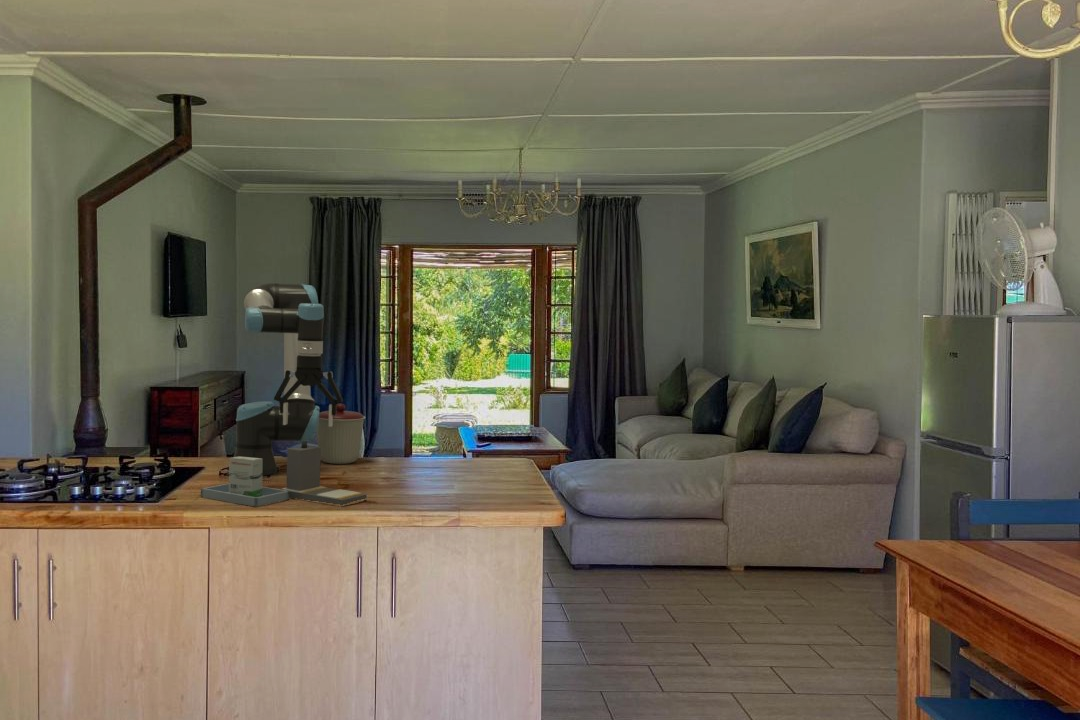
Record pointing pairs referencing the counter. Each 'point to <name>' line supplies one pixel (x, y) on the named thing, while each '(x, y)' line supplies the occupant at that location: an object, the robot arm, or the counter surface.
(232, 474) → the ink box
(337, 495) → the board with cream panels
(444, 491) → the counter surface
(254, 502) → the tray
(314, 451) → the dark grey tall block
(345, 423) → the canister
